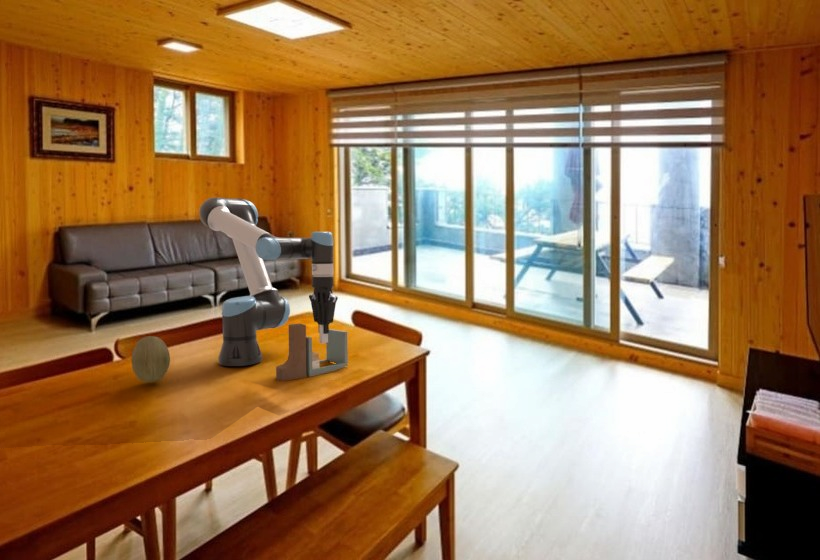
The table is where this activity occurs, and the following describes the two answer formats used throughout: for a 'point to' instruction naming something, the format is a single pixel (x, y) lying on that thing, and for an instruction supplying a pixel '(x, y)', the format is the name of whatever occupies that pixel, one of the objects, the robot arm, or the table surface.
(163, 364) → the fruit
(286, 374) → the wooden block
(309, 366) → the rack
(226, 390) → the table surface
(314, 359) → the offcut top
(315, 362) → the offcut mid
